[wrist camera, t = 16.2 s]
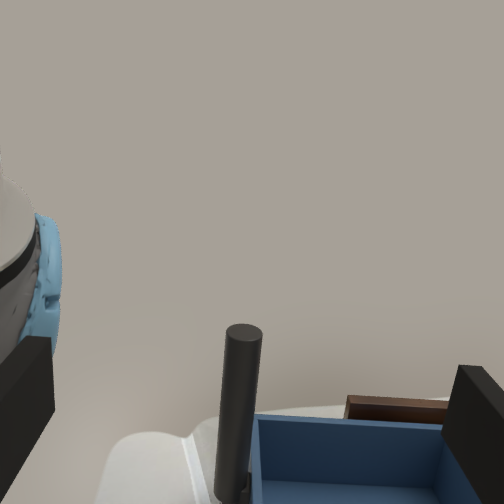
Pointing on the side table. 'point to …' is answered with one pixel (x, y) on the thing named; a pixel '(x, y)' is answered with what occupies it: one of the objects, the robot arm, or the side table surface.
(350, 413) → the walnut drawer box
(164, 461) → the side table surface
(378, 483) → the blue drawer insert
